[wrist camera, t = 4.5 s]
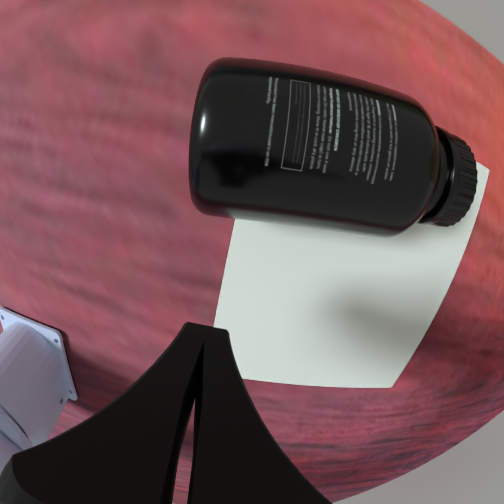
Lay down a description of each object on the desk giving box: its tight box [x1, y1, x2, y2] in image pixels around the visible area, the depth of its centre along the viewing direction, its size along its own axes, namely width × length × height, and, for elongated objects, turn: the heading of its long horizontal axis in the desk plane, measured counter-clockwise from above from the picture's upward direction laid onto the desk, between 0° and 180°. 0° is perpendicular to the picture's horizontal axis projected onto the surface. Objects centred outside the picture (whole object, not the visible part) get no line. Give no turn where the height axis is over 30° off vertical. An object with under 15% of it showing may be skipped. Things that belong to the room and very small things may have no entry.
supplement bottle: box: [189, 57, 478, 238], centre depth 12 cm, size 7×7×12 cm
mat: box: [214, 162, 489, 388], centre depth 18 cm, size 20×16×1 cm
